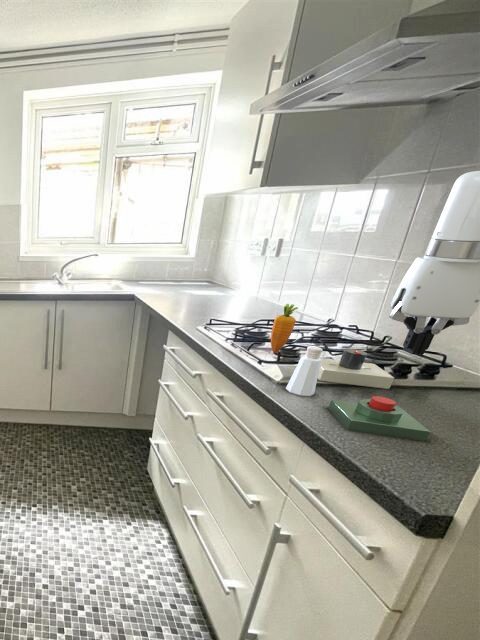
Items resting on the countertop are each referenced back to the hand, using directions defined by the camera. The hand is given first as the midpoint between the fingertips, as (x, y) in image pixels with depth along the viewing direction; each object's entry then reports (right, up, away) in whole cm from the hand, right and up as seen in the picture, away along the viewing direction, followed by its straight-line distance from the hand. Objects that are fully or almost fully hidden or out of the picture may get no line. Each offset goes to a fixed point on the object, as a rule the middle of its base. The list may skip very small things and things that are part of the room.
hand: (412, 352), depth 78 cm
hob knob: (+13, -2, +27) cm, 30 cm away
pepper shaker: (-5, -8, +20) cm, 22 cm away
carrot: (+7, +3, +45) cm, 46 cm away
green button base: (-2, -14, +6) cm, 15 cm away
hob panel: (+13, -4, +28) cm, 32 cm away
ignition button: (-2, -11, +5) cm, 12 cm away
